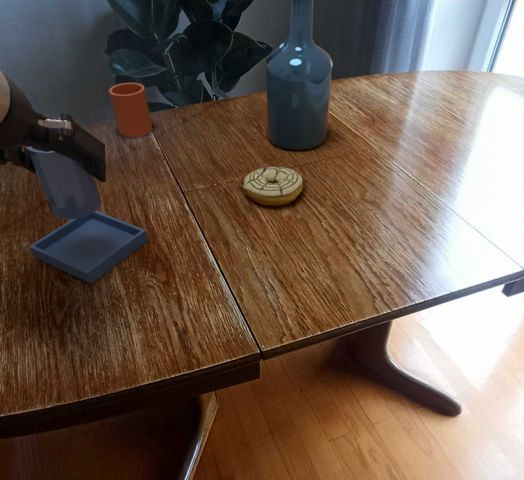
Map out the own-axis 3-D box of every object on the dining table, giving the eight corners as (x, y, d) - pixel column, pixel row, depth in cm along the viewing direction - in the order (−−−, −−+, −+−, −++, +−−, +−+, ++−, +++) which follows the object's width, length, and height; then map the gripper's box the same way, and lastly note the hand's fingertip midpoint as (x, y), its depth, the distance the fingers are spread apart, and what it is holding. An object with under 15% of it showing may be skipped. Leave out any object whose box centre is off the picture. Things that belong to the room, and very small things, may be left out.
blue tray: (33, 257, 76) (28, 246, 74) (93, 218, 83) (89, 208, 81) (90, 284, 71) (86, 273, 69) (148, 240, 78) (146, 229, 76)
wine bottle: (335, 132, 105) (352, -39, 82) (312, 157, 97) (324, -25, 75) (281, 122, 109) (283, -43, 87) (255, 145, 101) (249, -31, 79)
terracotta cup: (113, 139, 105) (101, 91, 97) (136, 127, 109) (126, 80, 101) (138, 146, 102) (127, 98, 94) (160, 134, 106) (151, 86, 99)
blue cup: (41, 210, 70) (13, 144, 63) (78, 189, 74) (56, 125, 67) (75, 224, 67) (50, 157, 60) (111, 201, 71) (92, 135, 64)
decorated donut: (262, 176, 92) (261, 157, 89) (310, 188, 88) (312, 169, 86) (234, 200, 86) (233, 181, 83) (285, 215, 82) (286, 195, 80)
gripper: (-116, 137, 48) (11, 197, 71) (75, 136, 47) (142, 198, 70) (-119, 63, 48) (10, 148, 71) (75, 61, 47) (142, 147, 70)
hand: (76, 172), depth 70 cm, fingers closed on blue cup, 7 cm apart
